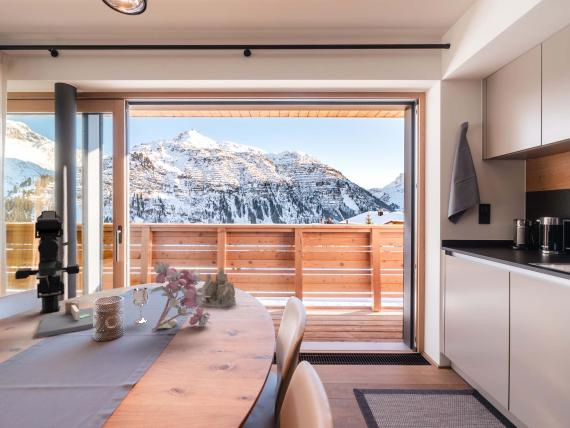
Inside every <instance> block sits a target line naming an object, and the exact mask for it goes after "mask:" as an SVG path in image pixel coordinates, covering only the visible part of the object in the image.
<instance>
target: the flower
mask: <svg viewBox="0 0 570 428" xmlns="http://www.w3.org/2000/svg"><path fill="white" fill-rule="evenodd" d="M156 262H157V264H154V265H153V270H154V272H155V273H156V274H157V275H156V276H155V284H161V285H160V286H157V287H155V288H153V289H151V292H149V294H150V295H151V294H152V293H154V292H155V293H156V292H159V291H160V290H162V291H164V292H162V294H160V295H161V297H167V301H166V304H165V307H164V309H163V311H162V313H161V315H160V317H159V320H158V321H157V323H156V325H155V327H152V328H151V331H152V332H154V331H157V330H158V329H169V330H170V329H172V328H174V327H175V326H176V324H177V323H178V320H177V319H175V318H177V317H179V316H180V317H181V316H183V317H185V316H187V315H188V314H191V315H193V316H192V317H190V320H189V321H188V323H189V325H190V326H194V325H196V324H197V323H198V326H199V327H202V328H204V327H205V326H206V324H208V323H209V324H212V322H210V321H209V319H210V316H211V314H210V313H209V312H204V306H203V305H202V304H204V303H203V302H202V301H206V300H204V299H205V297H210V296H204V295H205V293H206V291H205V290H204V289H205V288H202V287H199V288H198V289H197V287H196V285H199V283H200V282H201V281H202V274H201V272H200V271H199V272H198V271H195V270H196V269H195V268H193V269H192V270H190V271H189V269H186V268H184V269H181V270H179V271H177V269H176V268H175V267H170V263H169V262H167V261H166V260H165V261H163V260H162V261H161V263H160V262H158V259H156ZM166 281H168V283H167V284H166V285H165V286H164V285H162V284H165V283H166ZM180 291H181V292H182V293H183V296H181V297H178V295H179V294H178V293H179V292H180ZM175 293H176V294H175ZM174 294H175V296H174ZM177 297H178V298H177ZM203 298H204V299H203ZM198 305H200V306H198ZM196 306H198V307H197V308H196V309H195V311H196V312H195V313H193V312H192V311H191V312H190V311H189V312H187V309H192V308H193V307H196ZM202 306H203V307H202ZM172 308H175V309H177V315H174V316H172V317H167V315H168V313H169V312H170V311H171V309H172Z"/></svg>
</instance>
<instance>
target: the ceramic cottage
mask: <svg viewBox="0 0 570 428" xmlns="http://www.w3.org/2000/svg"><path fill="white" fill-rule="evenodd" d="M211 275H212V274H211V273H207V274H206V278H205V280H206V281H205V282H204V284H203V285H202V287H201V288H205V289H204V290H205V291H206V293H205V295H204V296H210V297H205V299H204V298H203V299H204V300H206V301H202V302H203V303H204V304H202V305H201V306H203V307H204V306H205V307H212V308H213V307H214V308H227V307H234V306H235V305H236V303H237V301H236V297H235V296H236V290H235V287H234V282H231V281H229V280H228V274H227V272H226V273H225V272H224V268H220V270H219V271H218V273H216V275H215V281H213V280H212V276H211Z"/></svg>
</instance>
